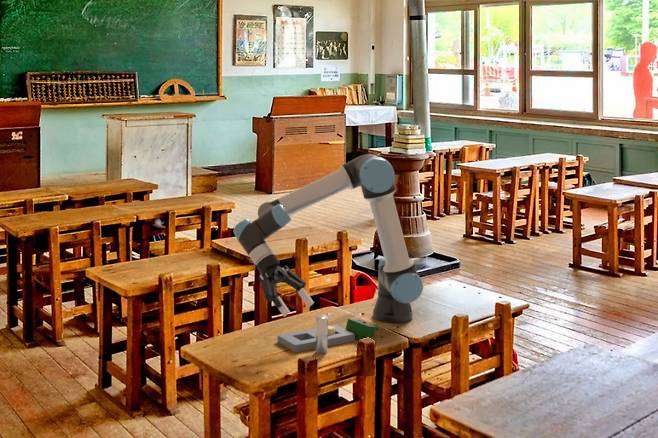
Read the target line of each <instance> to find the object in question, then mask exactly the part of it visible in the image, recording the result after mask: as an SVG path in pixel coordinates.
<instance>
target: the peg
mask: <svg viewBox="0 0 658 438" xmlns="http://www.w3.org/2000/svg"><path fill="white" fill-rule="evenodd" d="M328 326H329V317H328V316H327V315H317V316H316V317H315V328H316V348H315V354H318V355H325V354H328V352H329V351H328V347H329V346H328Z"/></svg>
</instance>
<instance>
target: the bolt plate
mask: <svg viewBox="0 0 658 438" xmlns="http://www.w3.org/2000/svg"><path fill="white" fill-rule="evenodd" d="M349 341H351V342H355V341H356V338H355V334H354V333H352V332H350V331H348V330H346V328H344V327H342V326H340V325H339V324H332V325H328V347H329V346H335V345H341V344H346V343H350V342H349ZM345 342H346V343H345ZM277 343H278V344H281V345H282V346H284V347H286V348H287V349H288V350H290V351H291V352H293V353H298V352H304V351H310V350H314V349H315V350H316V327H314V328H309V329H303V330H298V331H294V332H292V331H291V332H287V333H280V334H277Z"/></svg>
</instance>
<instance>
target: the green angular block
mask: <svg viewBox="0 0 658 438" xmlns="http://www.w3.org/2000/svg"><path fill="white" fill-rule="evenodd" d="M346 321H347V322H346V325H345V329H346V330H348V331H350V332H352V333H354V334H355V340H356V339H357V340H359V339H363V338H367V337H369V338H371V337H373V338H374V335H375V332H379V331H380V328H381V327H380V326H378V325H376V324H369V323H367V321H365V320H362V319H356V318H348V319H347V320H346ZM371 339H372V338H371Z"/></svg>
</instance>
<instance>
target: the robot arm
mask: <svg viewBox="0 0 658 438" xmlns="http://www.w3.org/2000/svg"><path fill="white" fill-rule="evenodd" d="M395 175H396V173H395V170H394V168H393V166H392V164H391V163H390V162H389V161H388V160H387V159H386V158H383V157H381V156H378V155H376V154H372V153H366V154H363V155H359V156H358V157H355V158H354V159H352V160H350V161H348V162H346V163H344V164H342V165H340V166H339V169H338V170H336V171H333V172H331V173H329V174H328V175H325V176H323V177H321V178H319V179H317V180H314V181H313V182H310V183H308V184H307V185H304V186H302V187H300V188H298V189H295V190H293V191H291V192H289V193H287V194H284V195H282V196H280V197H279V198H277V199H274V200H272V201H266V202H263V203H261V204H260V206H259V207H258V209H257V215H258V216H257V218H256V219H255V220H253V221H252V220H251V219H249V218H245V219H243V220H241V221H240V222H238V223H237V224H236V225H235V226H234V228H233V234H234V237H236V240H237V241H238V243H239V244H240V245H241V247H242V248H243V250H245V252H246V254H247V255H248V256H249V258H250V259H251V261H252V262H253V265H255V266H256V269H257V271H258V272H259V273H260V275H259V276H258V280H260V283H261V287H262V290H263V291H262V292H263V294H264V298H265V300H266V301H268V302H269V303H273V304H274V305H275V307H276V308H277V309H278V310H279V312H280V313H281V314H282V316H283V317H284V318H285V317H287V315H289V314H290V313H291V311H290V309H289V308H288V307H287V305H286V304H285V302H284V301H283V299H282V298H281V297H280V295H278V291H277V290H278V287H277V286H278V285H277V284H278V283H285V284H286V285H288V286H290V287H291V288H293V289H295V290H297V294H298V295H299V297H300V298H301V300H302V301H303V302H304V304H305V305H306V307H307V308H310V307H311V306H313V305H314V303H315V301H313V299H312V297H311V296H310V294H309V292H308V291H307V290H306V288H305V287H306V285H307V282H305V280H303V279H302V278H300V277H299V276H298V275H297V274H296V273H295V272H294V271H292V270H291V269H290V268H289V266H288V265H284V267H281V266H280V260H279V259H278V258H277V256H276V254H275V253H274V251H273V250H272V248H271V247H270V246H269V245H268V243H267V242H266V239H268V238H269V237H271V236H272V235H274V234H275V233H277V232H278V231H279V230H281V229H282V228H284V227H285V226H287V224H289V223H290V222H291V220H292V218H291V217H292V216H293V215H294V214H297V213H298V212H301V211H304V210H305V209H307V208H310V207H311V206H314V205H315V204H317V203H320V202H322V201H325V200H326V199H328V198H331V197H333V196H335V195H337V194H339V193H340V192H341V193H342V192H344V191H346V190H348V189H349V190H354V189H356V188H358V187H360V188H361V191H362V195H363V199H364V200H366V201H368V202H369V205H370V208H371V209H370V210H371V212H372V213H371V214H372V217H373V220H374V224H375V228H376V231H377V235H378V238H379V243H380V246H381V251H382V254H383V258H380V259H379V261H378V267H377V268H378V274H377V275H378V276H377V278H378V279H377V289H378V290H377V297H376V298H377V299H376V300H375V304H374V307H373V309H372V317H373V319H375V320H377V321H380V322H384V323H392V324H393V323H406V322H409V321H411V320H413V314H414V313H413V310H412V305H411V303H413V302H416V300H418V299H419V298H420V296H421V295H422V293H423V291H424V282H423V280H422V279H421V278H422V277H420V276H419V273H418V270H417V266H416V263H415V260H413V259H412V258H410V257H409V254H408V253H409V252H408V249H407V246H406V241H405V238H404V234H403V229H402V226H401V221H400V218H399V214H398V210H397V206H396V202H395V198H394V195H395V193H396V191H397V188H396V186H395Z"/></svg>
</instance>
